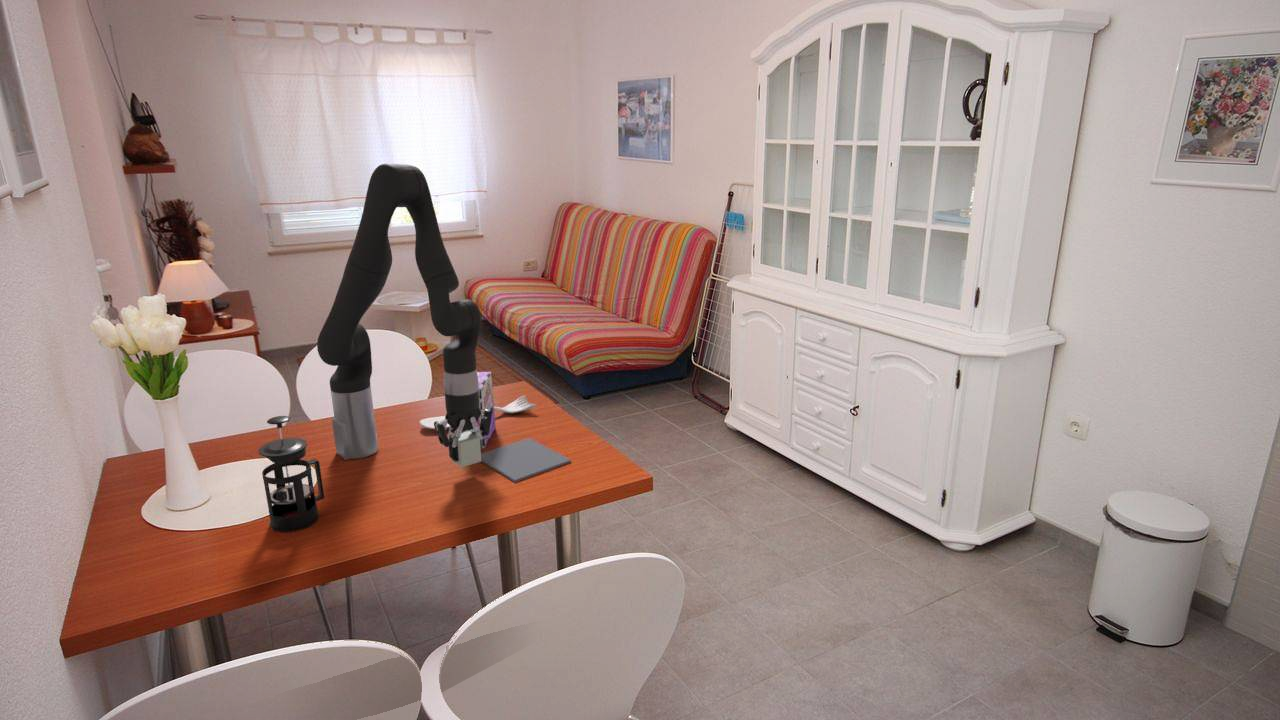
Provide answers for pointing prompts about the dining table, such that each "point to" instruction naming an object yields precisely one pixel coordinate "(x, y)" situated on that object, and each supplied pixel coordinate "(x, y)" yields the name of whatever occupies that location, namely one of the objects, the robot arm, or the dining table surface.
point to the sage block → (468, 449)
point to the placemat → (523, 459)
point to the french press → (291, 495)
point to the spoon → (510, 408)
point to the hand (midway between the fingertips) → (466, 456)
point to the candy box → (486, 402)
